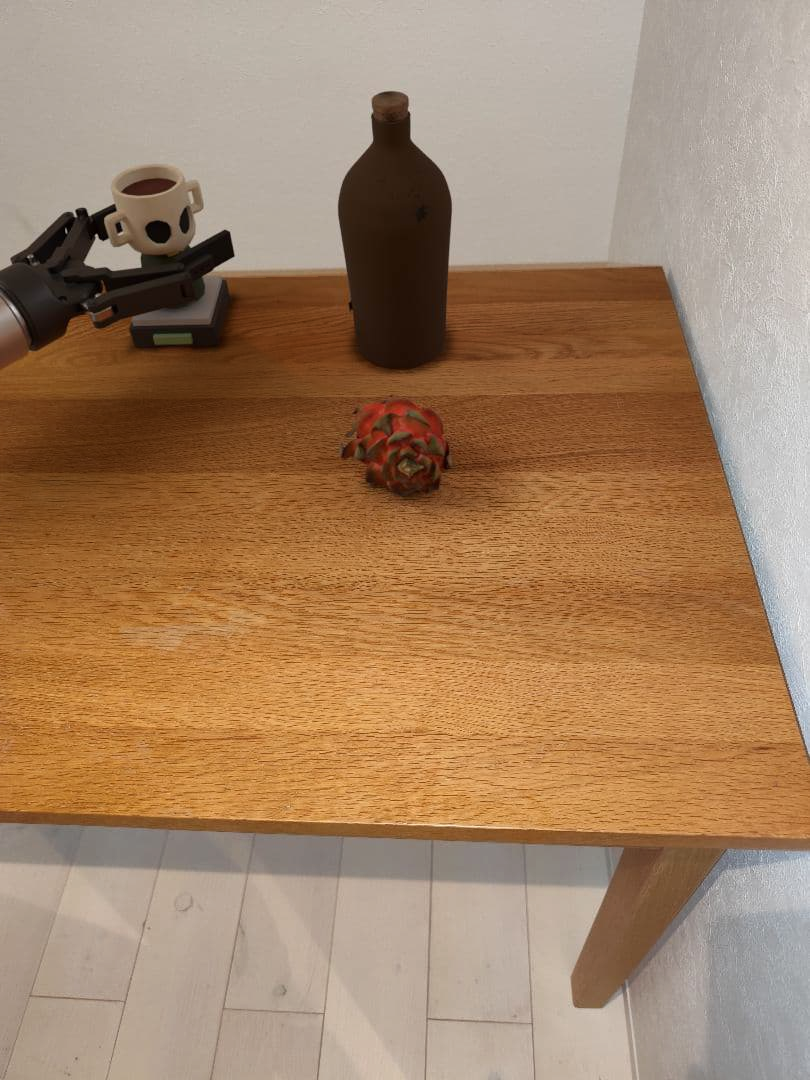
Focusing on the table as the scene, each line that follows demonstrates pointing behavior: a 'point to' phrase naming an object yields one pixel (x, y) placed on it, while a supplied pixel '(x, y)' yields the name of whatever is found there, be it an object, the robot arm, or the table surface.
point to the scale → (185, 320)
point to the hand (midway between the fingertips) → (187, 222)
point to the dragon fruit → (399, 446)
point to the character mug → (155, 215)
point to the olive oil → (396, 242)
